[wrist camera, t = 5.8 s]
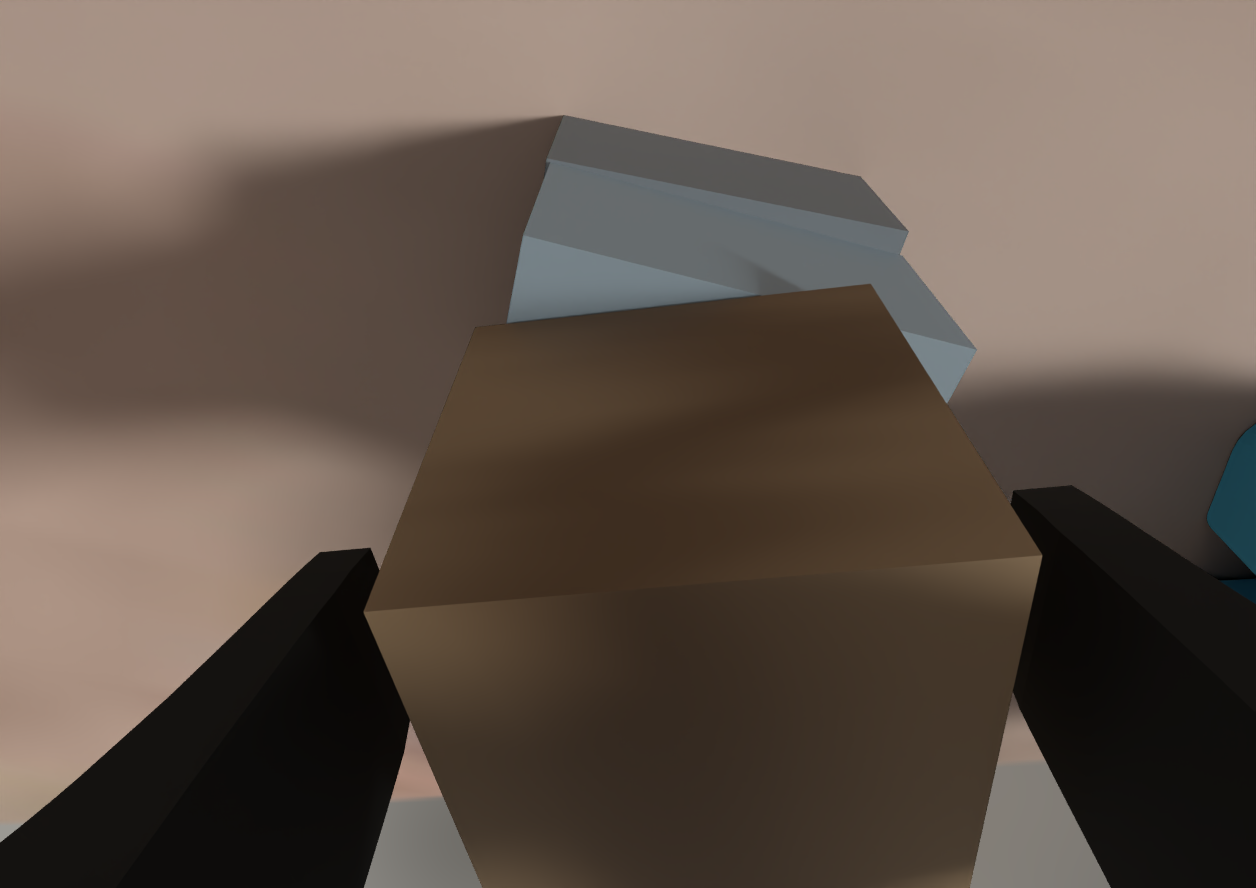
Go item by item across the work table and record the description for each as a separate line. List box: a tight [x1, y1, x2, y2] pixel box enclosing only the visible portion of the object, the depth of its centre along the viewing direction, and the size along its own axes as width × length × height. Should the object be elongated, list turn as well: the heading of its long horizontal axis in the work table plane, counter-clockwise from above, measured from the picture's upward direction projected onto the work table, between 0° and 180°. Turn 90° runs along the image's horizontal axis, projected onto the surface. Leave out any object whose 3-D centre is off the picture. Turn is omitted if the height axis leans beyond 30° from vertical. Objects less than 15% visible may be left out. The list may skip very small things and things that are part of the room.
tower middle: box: [506, 162, 977, 403], centre depth 13 cm, size 6×6×4 cm
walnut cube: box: [364, 284, 1042, 888], centre depth 9 cm, size 5×5×5 cm
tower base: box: [544, 115, 909, 255], centre depth 16 cm, size 6×6×4 cm
